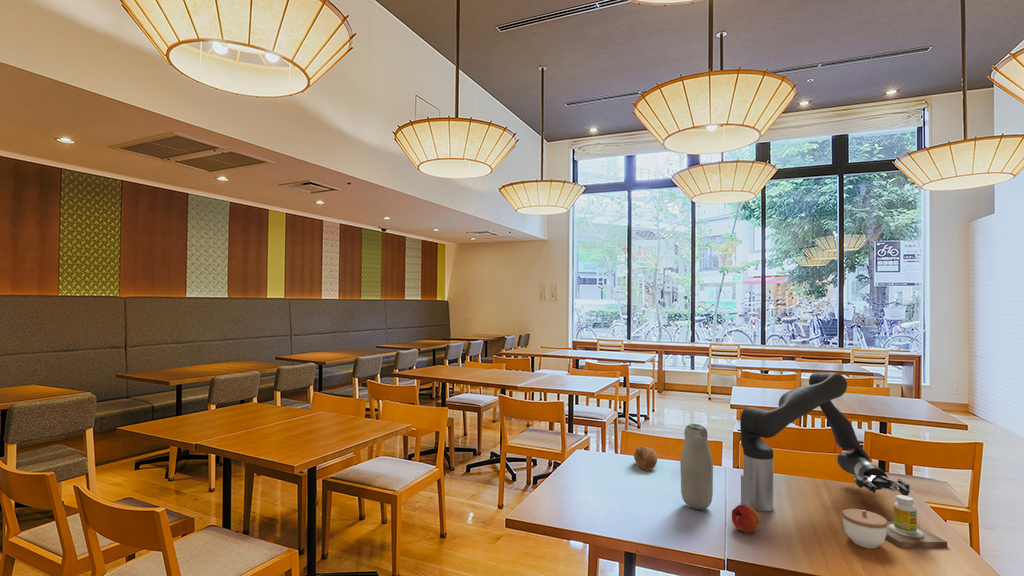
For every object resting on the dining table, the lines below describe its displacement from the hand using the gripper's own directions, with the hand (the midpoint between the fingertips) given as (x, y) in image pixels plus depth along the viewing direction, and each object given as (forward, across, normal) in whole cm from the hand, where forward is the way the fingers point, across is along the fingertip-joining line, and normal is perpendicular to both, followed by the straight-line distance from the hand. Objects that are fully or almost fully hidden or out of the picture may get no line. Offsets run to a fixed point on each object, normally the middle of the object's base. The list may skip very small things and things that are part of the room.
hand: (890, 491), depth 155 cm
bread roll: (-27, -77, +10) cm, 82 cm away
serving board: (+10, 0, +10) cm, 14 cm away
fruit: (+23, -46, +10) cm, 52 cm away
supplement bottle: (+11, 0, +8) cm, 13 cm away
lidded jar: (+20, -14, +10) cm, 26 cm away
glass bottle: (+10, -59, +10) cm, 61 cm away
